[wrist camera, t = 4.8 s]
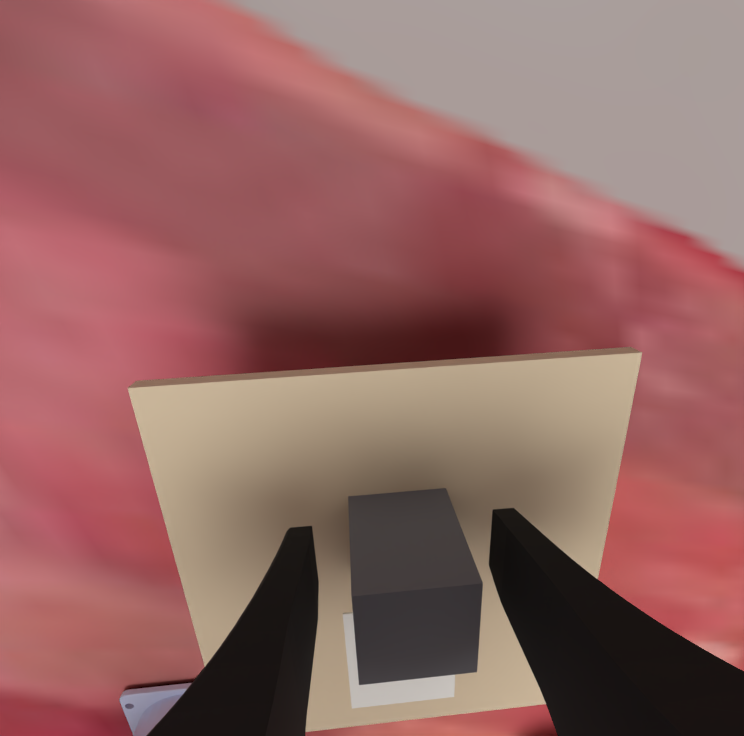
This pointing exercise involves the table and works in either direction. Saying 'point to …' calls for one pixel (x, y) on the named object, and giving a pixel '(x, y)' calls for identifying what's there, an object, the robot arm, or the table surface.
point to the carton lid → (388, 509)
